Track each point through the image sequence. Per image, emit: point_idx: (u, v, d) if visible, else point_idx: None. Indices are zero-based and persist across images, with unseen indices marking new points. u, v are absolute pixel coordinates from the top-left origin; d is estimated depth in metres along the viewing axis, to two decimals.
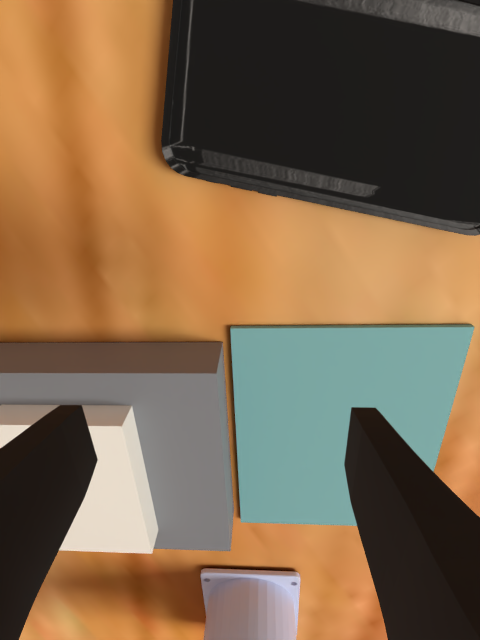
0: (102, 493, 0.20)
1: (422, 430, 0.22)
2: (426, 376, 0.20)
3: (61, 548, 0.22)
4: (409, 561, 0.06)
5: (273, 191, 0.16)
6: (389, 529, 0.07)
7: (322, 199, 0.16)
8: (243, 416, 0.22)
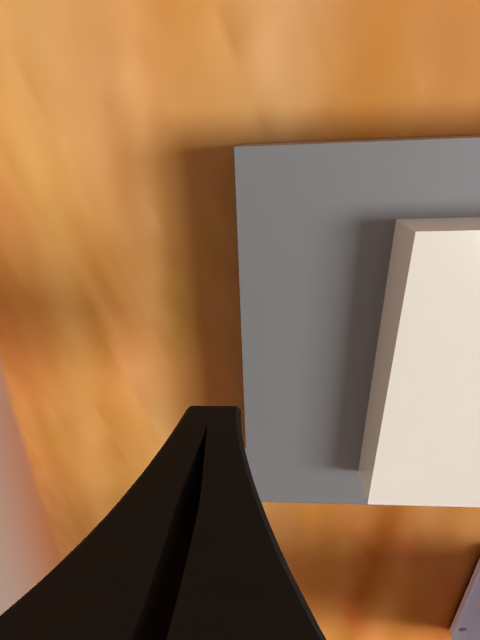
0: None
1: None
2: None
3: (408, 501, 0.13)
4: None
5: None
6: None
7: None
8: None
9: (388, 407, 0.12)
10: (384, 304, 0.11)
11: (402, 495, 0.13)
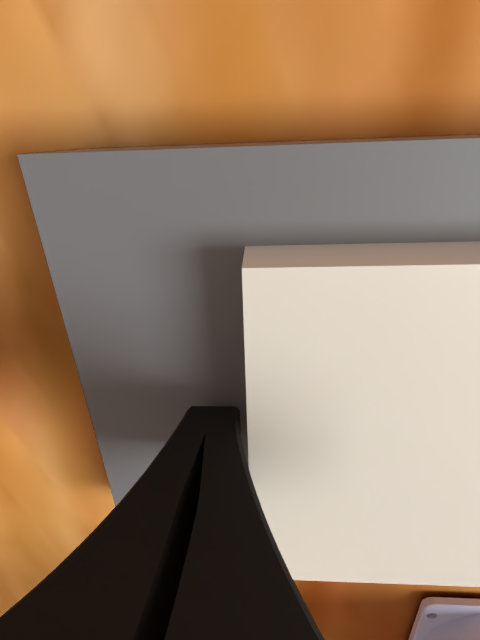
0: (463, 459, 0.09)
1: None
2: None
3: (299, 576, 0.11)
4: None
5: None
6: None
7: None
8: None
9: (254, 475, 0.09)
10: None
11: (291, 570, 0.11)
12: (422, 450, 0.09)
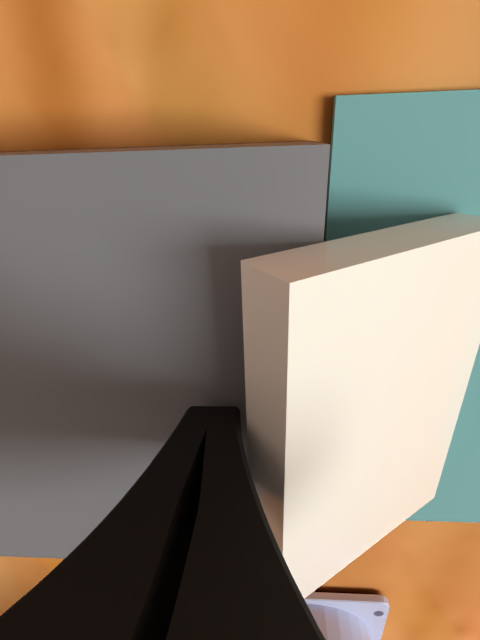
0: (428, 405, 0.10)
1: None
2: None
3: (320, 582, 0.11)
4: None
5: None
6: None
7: None
8: None
9: (287, 507, 0.08)
10: (247, 375, 0.08)
11: (313, 582, 0.11)
12: (407, 410, 0.10)
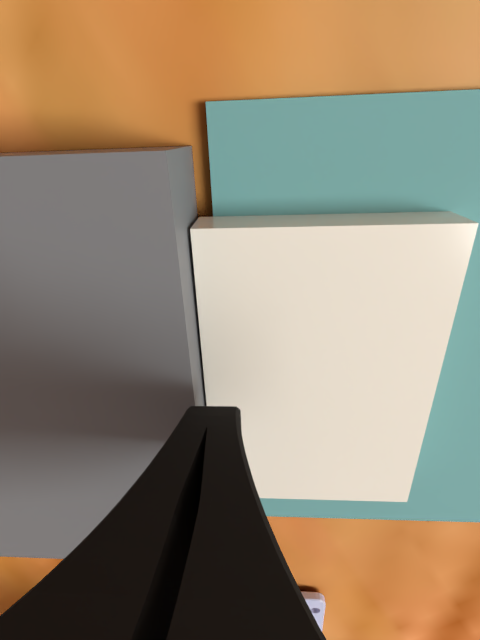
0: (370, 385, 0.11)
1: None
2: None
3: None
4: None
5: None
6: None
7: None
8: None
9: (210, 401, 0.12)
10: None
11: None
12: (339, 378, 0.11)
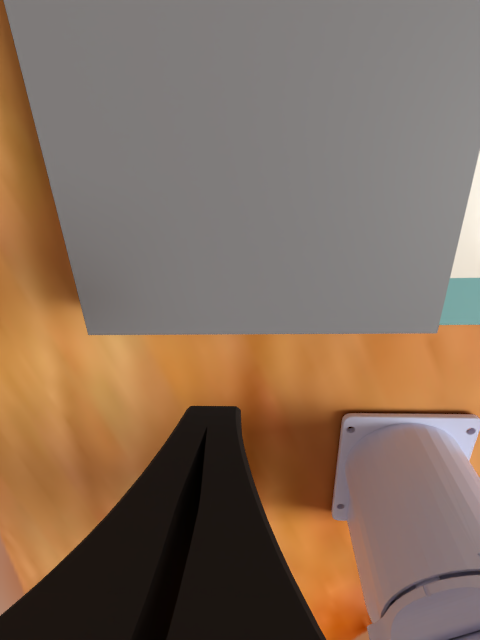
0: None
1: None
2: None
3: (471, 273, 0.16)
4: None
5: None
6: None
7: None
8: None
9: None
10: None
11: (467, 267, 0.16)
12: None
